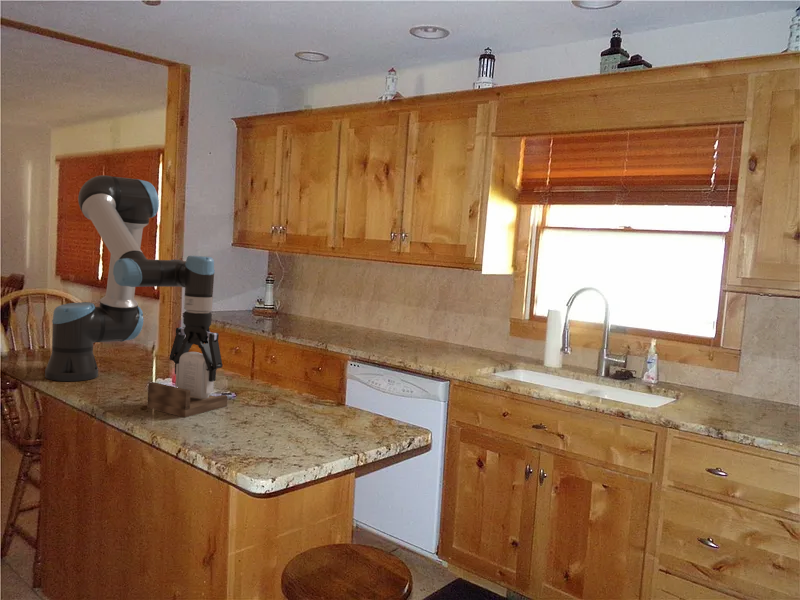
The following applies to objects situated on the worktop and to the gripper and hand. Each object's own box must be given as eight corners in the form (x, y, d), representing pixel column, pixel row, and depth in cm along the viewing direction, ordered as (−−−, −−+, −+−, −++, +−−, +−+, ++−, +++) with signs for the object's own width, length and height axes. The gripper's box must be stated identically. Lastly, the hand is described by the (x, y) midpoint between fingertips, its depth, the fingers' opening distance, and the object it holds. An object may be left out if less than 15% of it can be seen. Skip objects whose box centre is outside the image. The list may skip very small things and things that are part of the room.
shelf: (147, 407, 177) (148, 382, 177) (190, 397, 192) (191, 374, 191) (185, 417, 171) (186, 391, 171) (226, 406, 185) (228, 382, 185)
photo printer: (212, 397, 182) (215, 354, 181) (201, 400, 179) (203, 356, 178) (186, 391, 187) (188, 349, 186) (175, 393, 184) (177, 350, 183)
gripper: (157, 307, 183) (154, 384, 185) (219, 317, 173) (215, 398, 175) (177, 306, 189) (174, 380, 191) (238, 315, 179) (234, 393, 181)
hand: (194, 389), depth 183 cm, fingers closed on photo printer, 10 cm apart
